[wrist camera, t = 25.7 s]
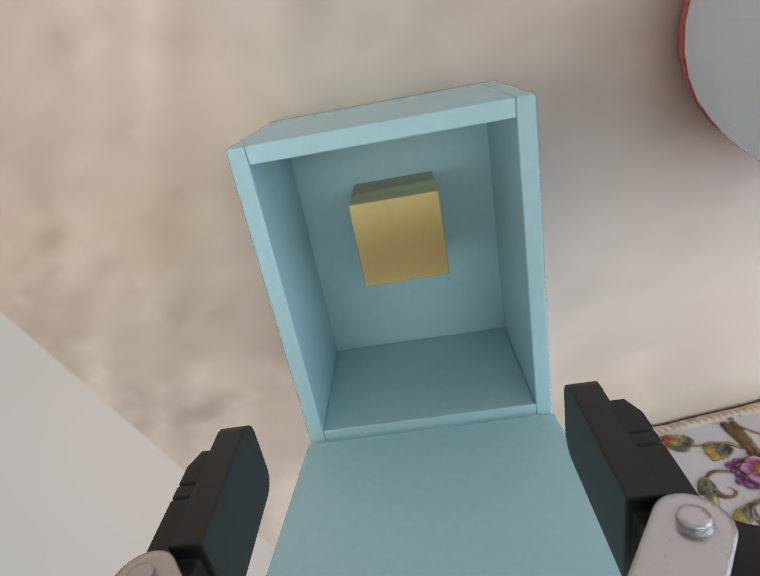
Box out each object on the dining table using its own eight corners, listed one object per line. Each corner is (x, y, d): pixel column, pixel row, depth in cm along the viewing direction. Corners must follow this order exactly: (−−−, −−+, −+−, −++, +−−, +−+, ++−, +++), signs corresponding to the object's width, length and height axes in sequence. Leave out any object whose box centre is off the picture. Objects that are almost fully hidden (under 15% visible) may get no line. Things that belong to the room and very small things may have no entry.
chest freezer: (270, 122, 29) (224, 149, 21) (495, 80, 28) (536, 93, 20) (329, 356, 36) (311, 445, 28) (515, 330, 35) (552, 414, 27)
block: (353, 184, 30) (348, 205, 26) (432, 170, 30) (438, 190, 25) (368, 256, 32) (365, 287, 28) (442, 244, 31) (450, 274, 27)
